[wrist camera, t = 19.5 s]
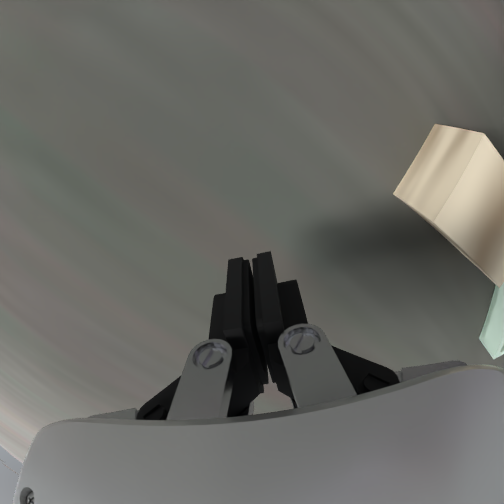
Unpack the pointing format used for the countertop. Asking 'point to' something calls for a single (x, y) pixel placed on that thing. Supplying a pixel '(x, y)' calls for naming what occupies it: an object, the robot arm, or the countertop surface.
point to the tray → (494, 324)
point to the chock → (461, 194)
